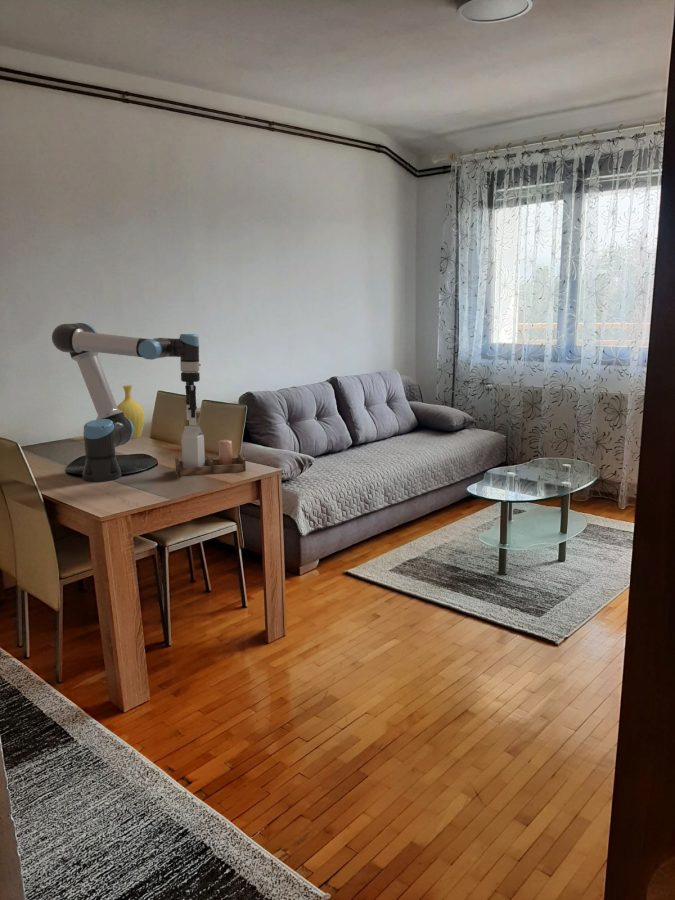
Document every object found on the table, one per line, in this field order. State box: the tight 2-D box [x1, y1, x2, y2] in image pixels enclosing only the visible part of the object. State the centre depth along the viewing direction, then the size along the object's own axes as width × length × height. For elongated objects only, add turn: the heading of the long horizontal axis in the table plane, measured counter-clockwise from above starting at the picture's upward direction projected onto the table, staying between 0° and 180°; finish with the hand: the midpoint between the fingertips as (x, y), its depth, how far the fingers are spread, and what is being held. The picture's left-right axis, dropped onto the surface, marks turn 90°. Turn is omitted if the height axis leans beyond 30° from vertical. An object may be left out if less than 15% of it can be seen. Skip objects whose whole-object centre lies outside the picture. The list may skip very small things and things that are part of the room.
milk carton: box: [180, 425, 206, 468], centre depth 279 cm, size 7×7×19 cm
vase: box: [117, 384, 146, 440], centre depth 358 cm, size 16×16×28 cm
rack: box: [174, 452, 247, 479], centre depth 283 cm, size 28×14×6 cm, turn 107°
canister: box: [218, 439, 233, 465], centre depth 284 cm, size 6×6×12 cm
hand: (191, 422), depth 277 cm, fingers open, 13 cm apart
